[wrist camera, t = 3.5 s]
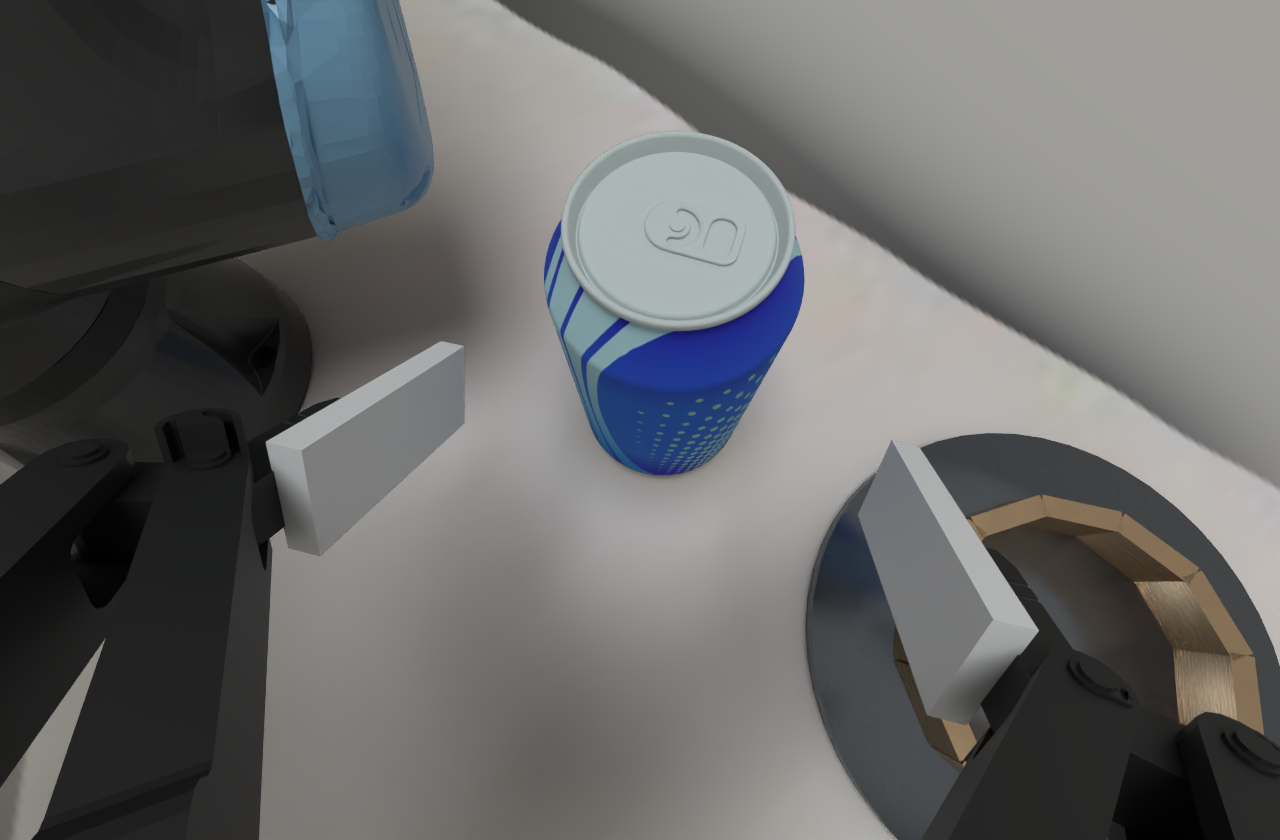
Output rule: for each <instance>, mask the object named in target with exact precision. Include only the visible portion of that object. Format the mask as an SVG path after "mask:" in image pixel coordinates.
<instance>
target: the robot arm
mask: <svg viewBox="0 0 1280 840" xmlns="http://www.w3.org/2000/svg"><path fill="white" fill-rule="evenodd" d="M433 169H434V154H433V145H432V138H431V133H430V127H429V122H428V117H427V113H426V108H425V104H424V99H423V95H422V91H421V86H420V82H419V77H418V73H417V69H416V65H415V61H414V57H413V53H412V49H411V45H410V41H409V37H408V33H407V30H406V26H405V22H404V18H403V15H402V11H401V7H400V3H399V0H0V461H2V462H4V463H6V464H7V465H9V466H11V467H13V468H15V469H17V470H19V471H17V472H16V473H15V474H14V475H12V476H11V477H10V478H9V479H7V480H6V481H5V482H3V483H2V484H1V485H0V787H1V786H2V785H3V783H4V782H5V780H6V779H7V778H8V776H9V774H10V773H11V772H12V770H13V769H14V768H15V766H16V765H17V763H18V762H19V760H20V759H21V758H22V756H23V755H24V753H25V752H26V750H27V749H28V748H29V746H30V745H31V743H32V742H33V741H34V739H35V738H36V736H37V735H38V733H39V732H40V731H41V729H42V728H43V726H44V725H45V723H46V722H47V721H48V719H49V718H50V716H51V715H52V713H53V712H54V711H55V709H56V708H57V706H58V705H59V704H60V702H61V701H62V699H63V698H64V696H65V695H66V694H67V692H68V691H69V689H70V688H71V686H72V685H73V684H74V682H75V681H76V679H77V678H78V676H79V675H80V674H81V672H82V671H83V669H84V668H85V667H86V665H87V664H88V662H89V661H90V659H91V658H92V657H93V655H94V654H95V652H96V651H97V649H98V648H99V647H100V645H101V644H102V642H103V641H104V639H105V638H106V639H105V642H104V645H103V648H102V651H101V654H100V657H99V660H98V663H97V666H96V668H95V671H94V674H93V677H92V680H91V683H90V686H89V689H88V692H87V695H86V698H85V701H84V703H83V706H82V709H81V712H80V715H79V718H78V721H77V724H76V727H75V730H74V733H73V736H72V739H71V741H70V744H69V747H68V750H67V753H66V756H65V759H64V762H63V765H62V768H61V771H60V774H59V776H58V779H57V782H56V785H55V788H54V791H53V794H52V797H51V800H50V803H49V806H48V809H47V811H46V814H45V817H44V820H43V822H42V824H41V826H40V829H39V831H38V832H37V834H36V835H35V836H34V837H33V838H32V839H31V840H259V823H260V802H261V780H262V759H263V738H264V716H265V695H266V674H267V652H268V631H269V610H270V589H271V567H272V547H271V543H270V539H269V538H271V537H272V536H273V535H274V534H276V533H277V532H278V531H279V530H281V529H282V528H283V527H284V530H285V535H286V539H287V544H288V548H291V549H294V550H298V551H302V552H306V553H310V554H314V555H317V556H321V555H322V554H323V553H324V552H325V551H326V550H328V549H329V548H330V547H331V546H332V545H333V544H334V543H335V542H336V541H337V540H338V539H339V538H341V537H342V536H343V535H344V534H345V533H346V532H347V531H348V530H349V529H350V528H351V527H352V526H354V525H355V524H356V523H357V522H358V521H359V520H360V519H361V518H362V517H363V516H364V515H365V514H367V513H368V512H369V511H370V510H371V509H372V508H373V507H374V506H375V505H376V504H377V503H378V502H380V501H381V500H382V499H383V498H384V497H385V496H386V495H387V494H388V493H389V492H390V491H391V490H393V489H394V488H395V487H396V486H397V485H398V484H399V483H400V482H401V481H402V480H403V479H404V478H406V477H407V476H408V475H409V474H410V473H411V472H412V471H413V470H414V469H415V468H416V467H418V466H419V465H420V464H421V463H422V462H423V461H424V460H425V459H426V458H427V457H428V456H429V455H431V454H432V453H433V452H434V451H435V450H436V449H437V448H438V447H439V446H440V445H441V444H442V443H444V442H445V441H446V440H447V439H448V438H449V437H450V436H451V435H452V434H453V433H454V432H455V431H457V430H458V429H459V428H460V427H461V426H462V425H463V424H464V346H462V345H457V344H452V343H448V342H443V341H440V342H438V343H437V344H435V345H433V346H432V347H430V348H428V349H426V350H425V351H423V352H421V353H419V354H418V355H416V356H414V357H412V358H411V359H409V360H407V361H405V362H404V363H402V364H400V365H398V366H397V367H395V368H393V369H391V370H390V371H388V372H386V373H384V374H383V375H381V376H379V377H378V378H376V379H374V380H372V381H371V382H369V383H367V384H365V385H364V386H362V387H360V388H358V389H357V390H355V391H353V392H351V393H350V394H348V395H346V396H344V397H343V398H335V399H331V400H328V401H324V402H321V403H317V404H315V405H313V406H311V407H309V408H308V409H306V410H304V411H302V412H300V413H299V415H296V413H297V411H298V409H299V407H300V405H301V402H302V400H303V398H304V395H305V392H306V389H307V386H308V382H309V377H310V372H311V363H312V349H311V340H310V335H309V331H308V328H307V325H306V322H305V320H304V318H303V316H302V314H301V312H300V311H299V309H298V307H297V306H296V305H295V303H294V302H293V301H292V300H291V299H290V297H289V296H288V295H286V294H285V293H284V292H283V291H282V290H281V289H279V288H278V287H277V286H276V285H274V284H273V283H272V282H271V281H269V280H268V279H267V278H266V277H264V276H263V275H262V274H260V273H259V272H258V271H257V270H255V269H254V268H252V267H250V266H249V265H247V264H245V263H243V262H241V261H239V260H238V259H235V257H238V256H242V255H246V254H250V253H254V252H258V251H261V250H265V249H269V248H273V247H277V246H281V245H285V244H288V243H292V242H296V241H300V240H304V239H308V238H311V237H315V236H318V237H320V238H321V239H322V240H326V241H327V240H331V239H334V238H336V237H338V235H339V234H340V232H341V230H343V229H346V228H349V227H352V226H356V225H359V224H362V223H365V222H369V221H372V220H375V219H378V218H381V217H385V216H388V215H391V214H394V213H398V212H401V211H403V210H406V209H408V208H410V207H411V206H413V205H415V204H416V203H417V202H418V201H419V200H421V198H422V197H423V196H424V195H425V193H426V192H427V190H428V188H429V186H430V183H431V180H432V176H433ZM858 517H859V520H860V523H861V526H862V528H863V531H864V534H865V537H866V540H867V543H868V546H869V549H870V552H871V555H872V557H873V560H874V563H875V566H876V569H877V572H878V575H879V578H880V581H881V583H882V586H883V589H884V592H885V595H886V598H887V601H888V604H889V607H890V610H891V612H892V615H893V618H894V621H895V624H896V627H897V630H898V633H899V636H900V639H901V641H902V644H903V647H904V650H905V653H906V656H907V659H908V662H909V665H910V668H911V670H912V673H913V676H914V679H915V682H916V685H917V688H918V691H919V694H920V697H921V699H922V702H923V705H924V708H925V711H926V714H927V715H928V716H932V717H936V718H940V719H943V720H947V721H951V722H955V723H959V724H963V725H967V724H968V723H969V721H970V720H971V719H972V717H973V716H974V715H975V714H976V712H977V711H978V710H979V708H980V707H981V706H982V709H983V711H984V713H985V715H986V717H987V720H988V722H989V724H990V727H989V728H988V730H987V731H986V732H985V733H984V734H983V736H982V737H981V738H980V739H979V741H978V742H977V743H976V744H975V746H974V747H973V748H972V749H971V751H970V752H969V753H968V754H967V756H966V757H965V758H964V760H965V761H966V762H967V763H966V764H965V766H964V768H963V769H962V771H961V773H960V774H959V776H958V778H957V780H956V781H955V783H954V785H953V786H952V788H951V790H950V791H949V793H948V795H947V797H946V798H945V800H944V802H943V803H942V805H941V807H940V808H939V810H938V812H937V814H936V815H935V817H934V819H933V820H932V822H931V824H930V825H929V827H928V829H927V831H926V832H925V834H924V836H923V837H922V839H921V840H1107V838H1108V840H1280V747H1279V746H1278V745H1277V744H1275V743H1274V742H1273V741H1270V740H1268V739H1269V738H1267V737H1266V736H1264V735H1263V734H1261V733H1260V732H1258V731H1256V730H1253V729H1252V728H1250V727H1248V726H1246V725H1245V724H1243V723H1241V722H1240V721H1237V720H1235V719H1232V718H1230V717H1227V716H1225V715H1222V714H1219V713H1212V712H1204V713H1202V714H1199V715H1198V716H1196V717H1195V718H1194V719H1193V720H1192V721H1191V722H1190V723H1189V724H1188V725H1186V726H1185V725H1183V724H1181V723H1178V722H1176V721H1174V720H1172V719H1170V718H1168V717H1165V716H1163V715H1161V714H1159V713H1157V712H1155V711H1152V710H1150V709H1148V708H1146V707H1144V706H1142V705H1140V701H1139V699H1138V698H1137V696H1136V694H1135V693H1134V691H1133V690H1132V688H1131V687H1130V686H1129V685H1128V684H1127V683H1126V682H1125V681H1124V680H1123V679H1122V678H1121V677H1120V676H1119V675H1118V674H1117V673H1116V672H1114V671H1113V670H1111V669H1110V668H1109V667H1107V666H1106V665H1105V664H1103V663H1102V662H1100V661H1098V660H1097V659H1095V658H1093V657H1091V656H1089V655H1087V654H1085V653H1083V652H1080V651H1077V650H1073V648H1072V647H1071V645H1070V644H1069V643H1068V641H1067V640H1066V638H1065V637H1064V635H1063V634H1062V632H1061V631H1060V630H1059V628H1058V627H1057V625H1056V624H1055V622H1054V621H1053V620H1052V618H1051V617H1050V615H1049V614H1048V612H1047V611H1046V610H1045V608H1044V607H1043V605H1042V604H1041V603H1039V602H1038V598H1037V597H1036V595H1035V594H1034V592H1033V591H1032V589H1031V588H1028V584H1027V582H1026V581H1025V579H1024V578H1023V577H1022V575H1021V574H1020V572H1019V571H1018V569H1017V568H1016V567H1015V566H1014V565H1013V564H1012V563H1011V562H1009V561H1008V560H1007V559H1006V558H1005V557H1004V556H1003V555H1002V554H1000V553H999V552H998V551H997V550H995V549H990V548H986V547H984V545H983V544H982V542H981V541H980V539H979V538H978V536H977V535H976V533H975V532H974V530H973V529H972V527H971V525H970V524H969V522H968V521H967V519H966V518H965V516H964V515H963V513H962V512H961V510H960V509H959V507H958V506H957V504H956V502H955V501H954V499H953V498H952V496H951V495H950V493H949V492H948V490H947V489H946V487H945V486H944V484H943V483H942V481H941V479H940V478H939V476H938V475H937V473H936V472H935V470H934V469H933V467H932V466H931V464H930V463H929V461H928V460H927V458H926V456H925V455H924V453H923V452H922V450H921V449H920V447H919V446H917V445H912V444H908V443H903V442H899V441H894V440H891V443H890V445H889V447H888V449H887V451H886V454H885V456H884V458H883V460H882V462H881V465H880V467H879V469H878V471H877V474H876V476H875V478H874V480H873V482H872V485H871V487H870V489H869V491H868V493H867V496H866V498H865V500H864V502H863V504H862V507H861V509H860V511H859V513H858Z"/></svg>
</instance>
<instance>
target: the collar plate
mask: <svg viewBox="0 0 1280 840" xmlns="http://www.w3.org/2000/svg"><path fill="white" fill-rule="evenodd" d="M920 449H921V450H922V452H923V453H924V455H925V456H926V458H927V460H928V461H929V463H930V464H931V466H932V467H933V469H934V470H935V472H936V473H937V475H938V476H939V478H940V479H941V481H942V483H943V484H944V486H945V487H946V489H947V490H948V492H949V493H950V495H951V496H952V498H953V499H954V501H955V502H956V504H957V506H958V507H959V509H960V510H961V512H962V513H963V515H964V516H965V518H966V519H967V521H968V522H969V524H970V525H971V527H972V529H973V530H974V532H975V533H976V535H977V536H978V538H979V539H980V541H981V542H982V544H983V545H984V547H986V548H990V549H995V550H997V551H998V552H999V553H1000V554H1002V555H1003V556H1004V557H1005V558H1006V559H1007V560H1008V561H1009V562H1011V563H1012V564H1013V565H1014V566H1015V567H1016V568H1017V569H1018V571H1019V572H1020V574H1021V575H1022V577H1023V578H1024V579H1025V581H1026V582H1027V584H1028V588H1031V589H1032V591H1033V592H1034V594H1035V595H1036V597H1037V598H1038V602H1039V603H1041V604H1042V605H1043V607H1044V608H1045V610H1046V611H1047V612H1048V614H1049V615H1050V617H1051V618H1052V620H1053V621H1054V622H1055V624H1056V625H1057V627H1058V628H1059V630H1060V631H1061V632H1062V634H1063V635H1064V637H1065V638H1066V640H1067V641H1068V643H1069V644H1070V645H1071V647H1072V648H1073V650H1077V651H1080V652H1083V653H1085V654H1087V655H1089V656H1091V657H1093V658H1095V659H1097V660H1098V661H1100V662H1102V663H1103V664H1105V665H1106V666H1107V667H1109V668H1110V669H1111V670H1113V671H1114V672H1116V673H1117V674H1118V675H1119V676H1120V677H1121V678H1122V679H1123V680H1124V681H1125V682H1126V683H1127V684H1128V685H1129V686H1130V687H1131V688H1132V690H1133V691H1134V693H1135V694H1136V696H1137V698H1138V699H1139V701H1140V705H1142V706H1144V707H1146V708H1148V709H1150V710H1152V711H1155V712H1157V713H1159V714H1161V715H1163V716H1165V717H1168V718H1170V719H1172V720H1174V721H1176V722H1178V723H1181V724H1183V725H1185V726H1186V725H1188V724H1189V723H1190V722H1191V721H1192V720H1193V719H1194V718H1195V717H1196V716H1198V715H1199V714H1202V713H1204V712H1212V713H1219V714H1222V715H1225V716H1227V717H1230V718H1232V719H1235V720H1237V721H1240V722H1241V723H1243V724H1245V725H1246V726H1248V727H1250V728H1252V729H1253V730H1256V731H1258V732H1260V733H1261V734H1263V735H1264V736H1266V737H1267V738H1269V739H1268V740H1270V741H1273V742H1274V743H1275V744H1277V745H1278V746H1279V747H1280V666H1279V663H1278V660H1277V656H1276V653H1275V650H1274V647H1273V644H1272V642H1271V640H1270V638H1269V635H1268V633H1267V631H1266V629H1265V626H1264V624H1263V622H1262V619H1261V617H1260V615H1259V613H1258V611H1257V609H1256V608H1255V606H1254V604H1253V602H1252V601H1251V599H1250V597H1249V595H1248V594H1247V592H1246V590H1245V588H1244V587H1243V585H1242V583H1241V582H1240V580H1239V579H1238V578H1237V576H1236V575H1235V573H1234V572H1233V570H1232V569H1231V568H1230V566H1229V565H1228V563H1227V562H1226V561H1225V559H1224V558H1223V556H1222V555H1221V554H1220V553H1219V552H1218V550H1217V549H1216V548H1215V547H1214V546H1213V545H1212V543H1211V542H1210V541H1209V540H1208V539H1207V538H1206V536H1205V535H1204V534H1203V533H1202V532H1201V531H1200V530H1199V529H1198V528H1197V527H1196V526H1195V525H1194V524H1193V523H1192V522H1191V521H1190V520H1189V519H1188V518H1187V517H1186V516H1185V515H1184V514H1183V513H1182V512H1181V511H1180V510H1179V509H1178V508H1176V507H1175V506H1174V505H1173V504H1172V503H1170V502H1169V501H1168V500H1166V499H1165V498H1164V497H1163V496H1161V495H1160V494H1159V493H1158V492H1156V491H1155V490H1154V489H1153V488H1151V487H1150V486H1148V485H1147V484H1145V483H1144V482H1142V481H1141V480H1139V479H1137V478H1136V477H1134V476H1133V475H1131V474H1130V473H1128V472H1127V471H1125V470H1123V469H1121V468H1119V467H1117V466H1115V465H1113V464H1112V463H1110V462H1108V461H1106V460H1104V459H1102V458H1100V457H1098V456H1095V455H1093V454H1090V453H1088V452H1085V451H1083V450H1080V449H1077V448H1075V447H1072V446H1070V445H1066V444H1062V443H1058V442H1055V441H1051V440H1047V439H1043V438H1038V437H1031V436H1024V435H1018V434H995V433H986V434H976V435H966V436H959V437H955V438H951V439H947V440H942V441H938V442H935V443H933V444H930V445H928V446H925V447H922V448H920ZM876 474H877V473H876ZM876 474H875V475H873V476H872V477H871V478H869V479H868V480H867V481H866V482H864V483H863V485H862V486H861V487H860V488H859V489H858V490H857V491H856V492H855V493H854V494H853V495H852V496H851V497H850V498H849V499H848V501H847V502H846V503H845V505H844V506H843V508H842V509H841V511H840V512H839V513H838V515H837V516H836V518H835V519H834V521H833V523H832V525H831V527H830V529H829V531H828V533H827V535H826V537H825V539H824V541H823V543H822V545H821V548H820V551H819V554H818V557H817V560H816V563H815V566H814V569H813V573H812V578H811V583H810V588H809V594H808V601H807V618H806V637H807V652H808V662H809V667H810V673H811V678H812V684H813V689H814V693H815V696H816V700H817V703H818V706H819V709H820V713H821V716H822V719H823V723H824V725H825V727H826V730H827V732H828V734H829V737H830V739H831V741H832V744H833V746H834V748H835V751H836V753H837V755H838V757H839V759H840V761H841V762H842V764H843V766H844V768H845V769H846V771H847V773H848V775H849V776H850V778H851V780H852V782H853V783H854V785H855V787H856V788H857V790H858V791H859V792H860V794H861V795H862V797H863V798H864V799H865V801H866V802H867V804H868V805H869V806H870V808H871V809H872V810H873V812H874V813H875V815H876V816H877V817H878V818H879V819H880V821H881V822H882V823H883V824H884V825H885V826H886V827H887V828H888V829H889V831H890V832H891V833H892V834H893V835H894V836H895V837H896V838H897V839H898V840H921V839H922V837H923V836H924V834H925V832H926V831H927V829H928V827H929V825H930V824H931V822H932V820H933V819H934V817H935V815H936V814H937V812H938V810H939V808H940V807H941V805H942V803H943V802H944V800H945V798H946V797H947V795H948V793H949V791H950V790H951V788H952V786H953V785H954V783H955V781H956V780H957V778H958V776H959V774H960V773H961V771H962V769H963V768H964V766H965V764H966V763H967V762H966V761H965V760H964V758H965V757H966V756H967V754H968V753H969V752H970V751H971V749H972V748H973V747H974V746H975V744H976V743H977V742H978V741H979V739H980V738H981V737H982V736H983V734H984V733H985V732H986V731H987V730H988V728H989V727H990V724H989V722H988V720H987V717H986V715H985V713H984V711H983V709H982V706H981V707H980V708H979V710H978V711H977V712H976V714H975V715H974V716H973V717H972V719H971V720H970V721H969V723H968V724H967V725H963V724H959V723H955V722H951V721H947V720H943V719H940V718H936V717H932V716H928V715H927V714H926V711H925V708H924V705H923V702H922V699H921V697H920V694H919V691H918V688H917V685H916V682H915V679H914V676H913V673H912V670H911V668H910V665H909V662H908V659H907V656H906V653H905V650H904V647H903V644H902V641H901V639H900V636H899V633H898V630H897V627H896V624H895V621H894V618H893V615H892V612H891V610H890V607H889V604H888V601H887V598H886V595H885V592H884V589H883V586H882V583H881V581H880V578H879V575H878V572H877V569H876V566H875V563H874V560H873V557H872V555H871V552H870V549H869V546H868V543H867V540H866V537H865V534H864V531H863V528H862V526H861V523H860V520H859V517H858V513H859V511H860V509H861V507H862V504H863V502H864V500H865V498H866V496H867V493H868V491H869V489H870V487H871V485H872V482H873V480H874V478H875V476H876ZM1107 840H1108V838H1107Z"/></svg>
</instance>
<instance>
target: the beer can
mask: <svg viewBox="0 0 1280 840" xmlns="http://www.w3.org/2000/svg"><path fill="white" fill-rule="evenodd" d="M544 285H545V294H546V299H547V304H548V308H549V311H550V314H551V317H552V320H553V323H554V325H555V328H556V331H557V334H558V337H559V339H560V342H561V345H562V348H563V351H564V353H565V356H566V359H567V362H568V365H569V367H570V370H571V373H572V376H573V379H574V381H575V384H576V387H577V390H578V393H579V395H580V398H581V401H582V404H583V406H584V409H585V412H586V415H587V418H588V420H589V423H590V426H591V428H592V431H593V433H594V435H595V437H596V438H597V440H598V442H599V443H600V444H601V446H602V447H603V448H604V449H605V450H606V452H608V453H609V454H610V455H611V456H612V457H613V458H614V459H616V460H617V461H618V462H620V463H622V464H623V465H625V466H627V467H629V468H631V469H634V470H636V471H639V472H643V473H647V474H653V475H673V474H679V473H683V472H687V471H690V470H693V469H695V468H697V467H699V466H701V465H703V464H704V463H706V462H708V461H709V460H710V459H712V458H713V457H714V456H715V455H716V454H717V453H718V452H719V451H720V450H721V449H722V448H723V447H724V445H725V444H726V443H727V441H728V439H729V438H730V436H731V434H732V433H733V431H734V429H735V427H736V426H737V424H738V422H739V420H740V419H741V417H742V415H743V413H744V412H745V410H746V408H747V406H748V405H749V403H750V401H751V399H752V398H753V396H754V394H755V393H756V391H757V389H758V387H759V386H760V384H761V382H762V380H763V379H764V377H765V375H766V373H767V372H768V370H769V368H770V366H771V365H772V363H773V361H774V359H775V358H776V356H777V354H778V352H779V351H780V349H781V347H782V345H783V344H784V342H785V340H786V339H787V337H788V335H789V333H790V332H791V330H792V328H793V325H794V323H795V321H796V319H797V316H798V313H799V310H800V307H801V303H802V298H803V292H804V267H803V260H802V255H801V251H800V247H799V244H798V241H797V239H796V236H795V220H794V213H793V209H792V206H791V203H790V200H789V197H788V195H787V193H786V191H785V189H784V187H783V186H782V184H781V183H780V181H779V180H778V178H777V177H776V176H775V175H774V173H773V172H772V171H771V170H770V169H769V168H768V167H767V166H766V165H765V164H764V163H763V162H762V161H761V160H759V159H758V158H757V157H756V156H754V155H753V154H751V153H750V152H748V151H747V150H745V149H743V148H742V147H740V146H738V145H736V144H734V143H731V142H729V141H727V140H724V139H721V138H718V137H715V136H711V135H707V134H702V133H695V132H685V131H667V132H658V133H652V134H647V135H643V136H639V137H635V138H633V139H630V140H627V141H625V142H622V143H620V144H618V145H616V146H614V147H612V148H611V149H609V150H607V151H606V152H604V153H603V154H601V155H600V156H599V157H597V158H596V159H595V160H594V161H592V162H591V163H590V164H589V165H588V166H587V167H586V168H585V169H584V171H583V172H582V173H581V174H580V175H579V177H578V178H577V180H576V181H575V183H574V184H573V186H572V188H571V190H570V192H569V194H568V196H567V199H566V201H565V205H564V208H563V212H562V219H561V221H560V222H559V224H558V226H557V228H556V230H555V232H554V234H553V236H552V239H551V242H550V244H549V248H548V252H547V256H546V261H545V268H544Z"/></svg>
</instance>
